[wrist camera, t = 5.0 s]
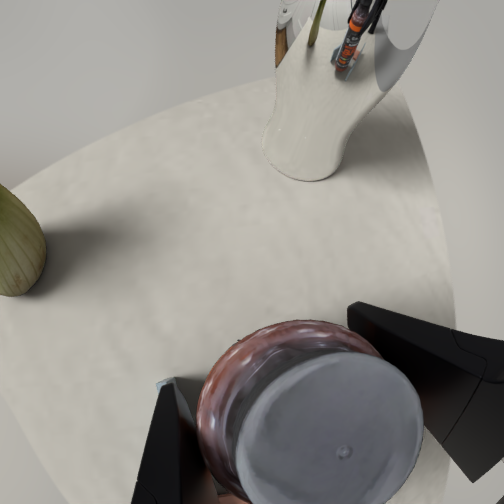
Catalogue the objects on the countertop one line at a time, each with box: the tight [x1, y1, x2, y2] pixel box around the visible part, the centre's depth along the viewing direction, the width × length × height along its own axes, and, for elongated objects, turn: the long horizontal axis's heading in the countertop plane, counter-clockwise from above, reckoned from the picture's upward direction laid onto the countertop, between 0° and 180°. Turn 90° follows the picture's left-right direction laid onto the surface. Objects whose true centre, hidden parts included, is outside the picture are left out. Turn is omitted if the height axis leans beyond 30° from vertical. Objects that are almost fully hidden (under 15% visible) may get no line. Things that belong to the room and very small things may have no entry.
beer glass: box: [261, 0, 439, 181], centre depth 15 cm, size 7×7×15 cm
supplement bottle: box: [196, 320, 424, 504], centre depth 10 cm, size 6×6×11 cm
